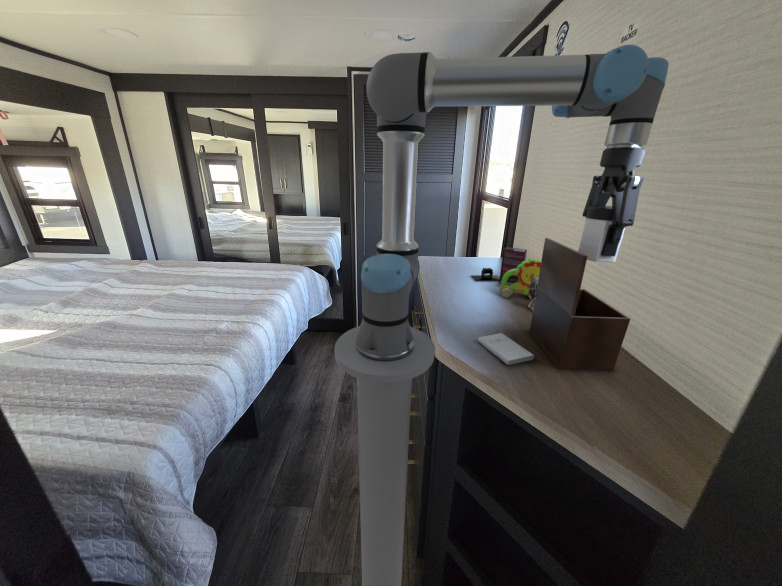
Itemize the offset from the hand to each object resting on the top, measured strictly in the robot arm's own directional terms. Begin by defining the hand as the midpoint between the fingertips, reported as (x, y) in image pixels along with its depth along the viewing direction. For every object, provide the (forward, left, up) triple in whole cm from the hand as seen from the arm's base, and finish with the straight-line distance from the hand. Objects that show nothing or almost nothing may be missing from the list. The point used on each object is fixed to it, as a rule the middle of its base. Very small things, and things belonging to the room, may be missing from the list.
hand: (596, 251), depth 75 cm
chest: (-1, -1, -27) cm, 27 cm away
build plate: (-59, +13, -28) cm, 66 cm away
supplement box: (-48, +17, -28) cm, 58 cm away
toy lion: (-36, +13, -28) cm, 47 cm away
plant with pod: (-24, +11, -28) cm, 38 cm away
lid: (-3, -7, -6) cm, 10 cm away
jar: (0, 0, -2) cm, 2 cm away
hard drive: (-5, -18, -28) cm, 33 cm away
